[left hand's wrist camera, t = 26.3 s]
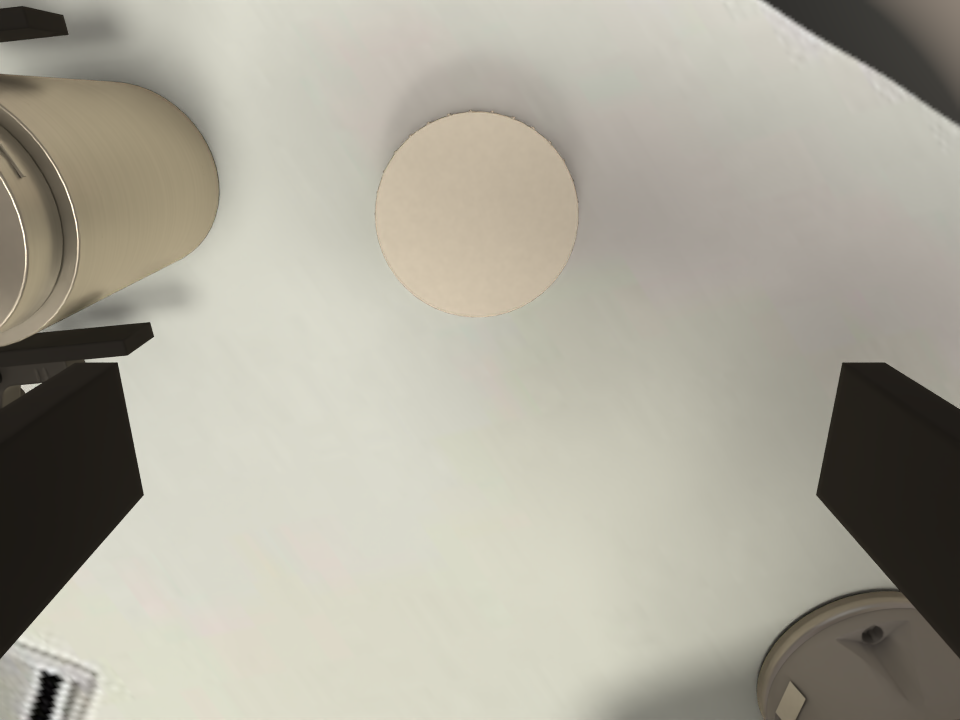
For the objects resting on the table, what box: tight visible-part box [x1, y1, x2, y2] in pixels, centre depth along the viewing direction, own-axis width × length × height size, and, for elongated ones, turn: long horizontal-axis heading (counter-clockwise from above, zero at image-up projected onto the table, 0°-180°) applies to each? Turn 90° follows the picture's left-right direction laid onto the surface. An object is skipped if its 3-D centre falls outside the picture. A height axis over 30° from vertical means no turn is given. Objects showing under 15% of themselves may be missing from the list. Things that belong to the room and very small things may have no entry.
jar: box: [0, 74, 219, 347], centre depth 29 cm, size 10×10×16 cm
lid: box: [375, 110, 579, 317], centre depth 35 cm, size 10×10×2 cm
